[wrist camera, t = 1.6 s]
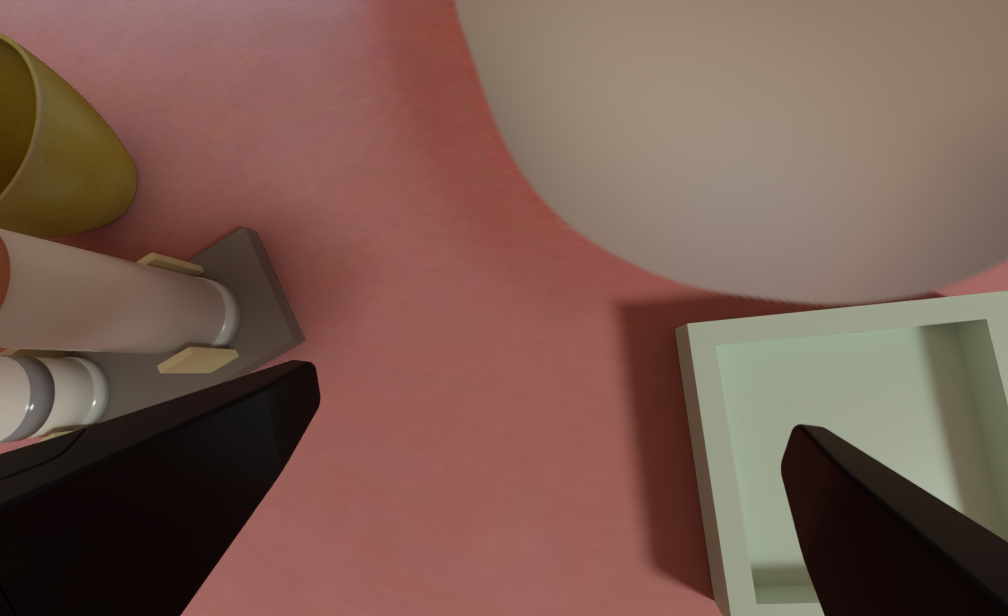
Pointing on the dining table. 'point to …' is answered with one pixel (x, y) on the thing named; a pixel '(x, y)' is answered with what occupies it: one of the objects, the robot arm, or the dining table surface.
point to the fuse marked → (105, 302)
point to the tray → (840, 423)
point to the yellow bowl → (55, 153)
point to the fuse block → (196, 368)
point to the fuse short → (49, 395)
